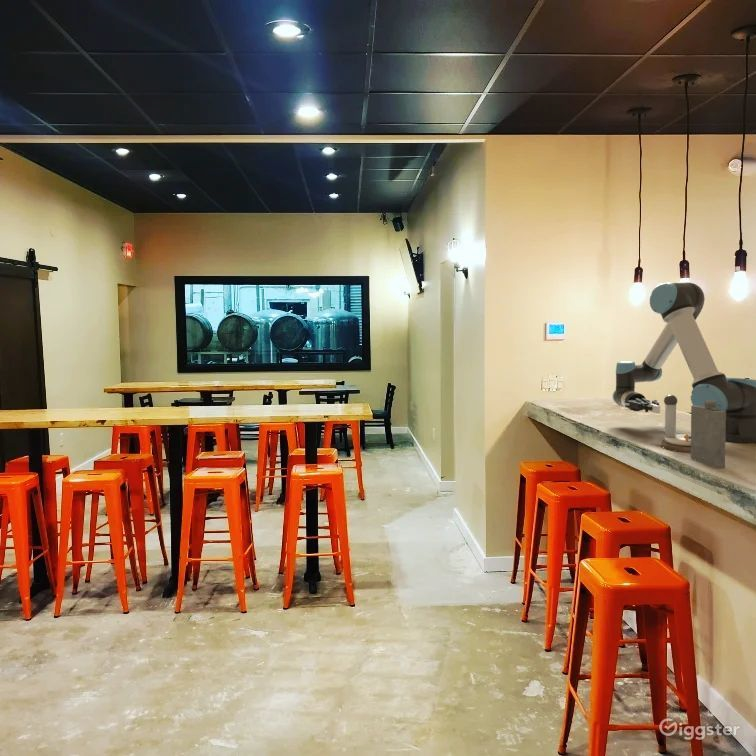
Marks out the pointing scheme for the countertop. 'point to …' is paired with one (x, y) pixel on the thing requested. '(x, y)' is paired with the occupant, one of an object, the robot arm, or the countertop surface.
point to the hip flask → (708, 434)
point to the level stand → (675, 447)
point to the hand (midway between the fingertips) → (657, 409)
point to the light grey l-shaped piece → (673, 424)
